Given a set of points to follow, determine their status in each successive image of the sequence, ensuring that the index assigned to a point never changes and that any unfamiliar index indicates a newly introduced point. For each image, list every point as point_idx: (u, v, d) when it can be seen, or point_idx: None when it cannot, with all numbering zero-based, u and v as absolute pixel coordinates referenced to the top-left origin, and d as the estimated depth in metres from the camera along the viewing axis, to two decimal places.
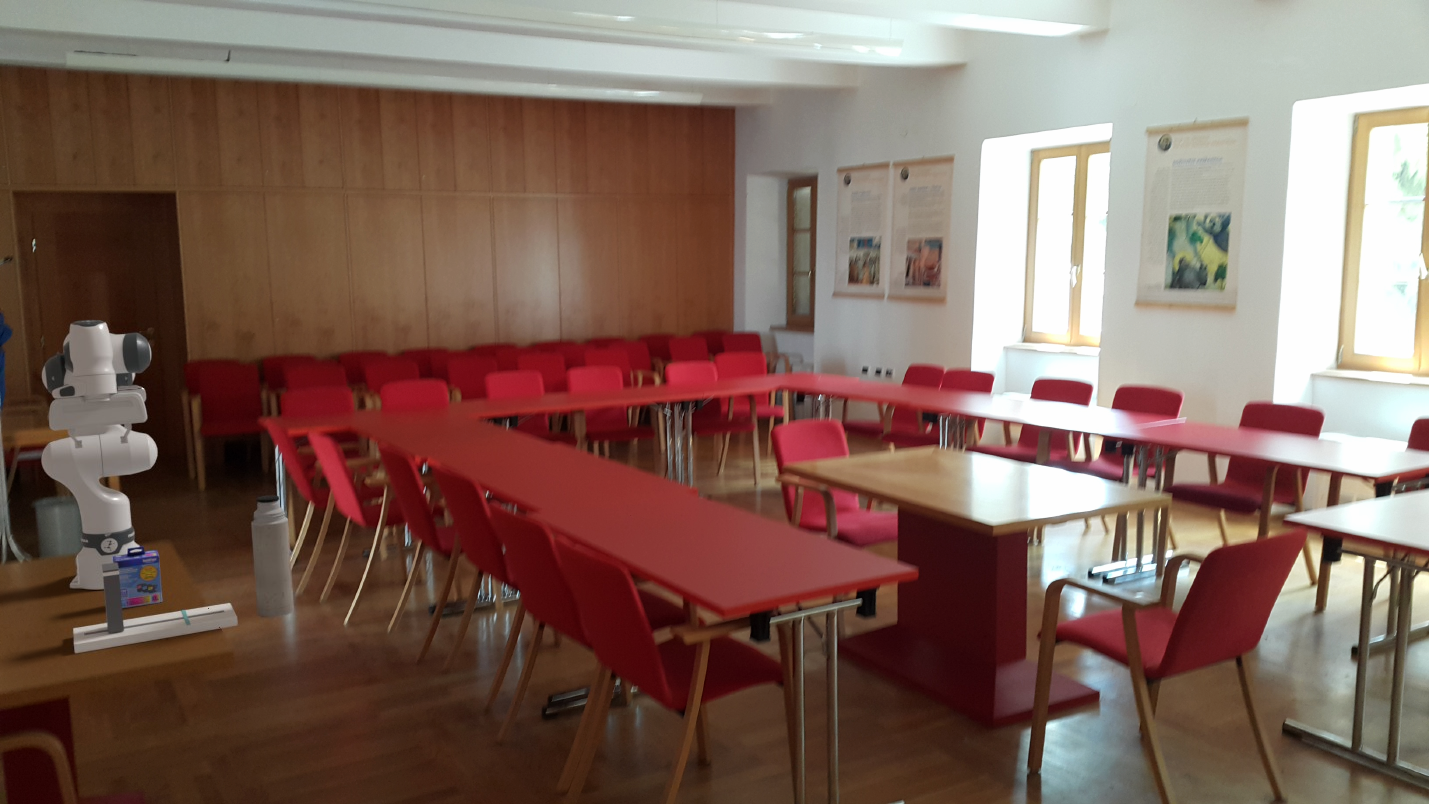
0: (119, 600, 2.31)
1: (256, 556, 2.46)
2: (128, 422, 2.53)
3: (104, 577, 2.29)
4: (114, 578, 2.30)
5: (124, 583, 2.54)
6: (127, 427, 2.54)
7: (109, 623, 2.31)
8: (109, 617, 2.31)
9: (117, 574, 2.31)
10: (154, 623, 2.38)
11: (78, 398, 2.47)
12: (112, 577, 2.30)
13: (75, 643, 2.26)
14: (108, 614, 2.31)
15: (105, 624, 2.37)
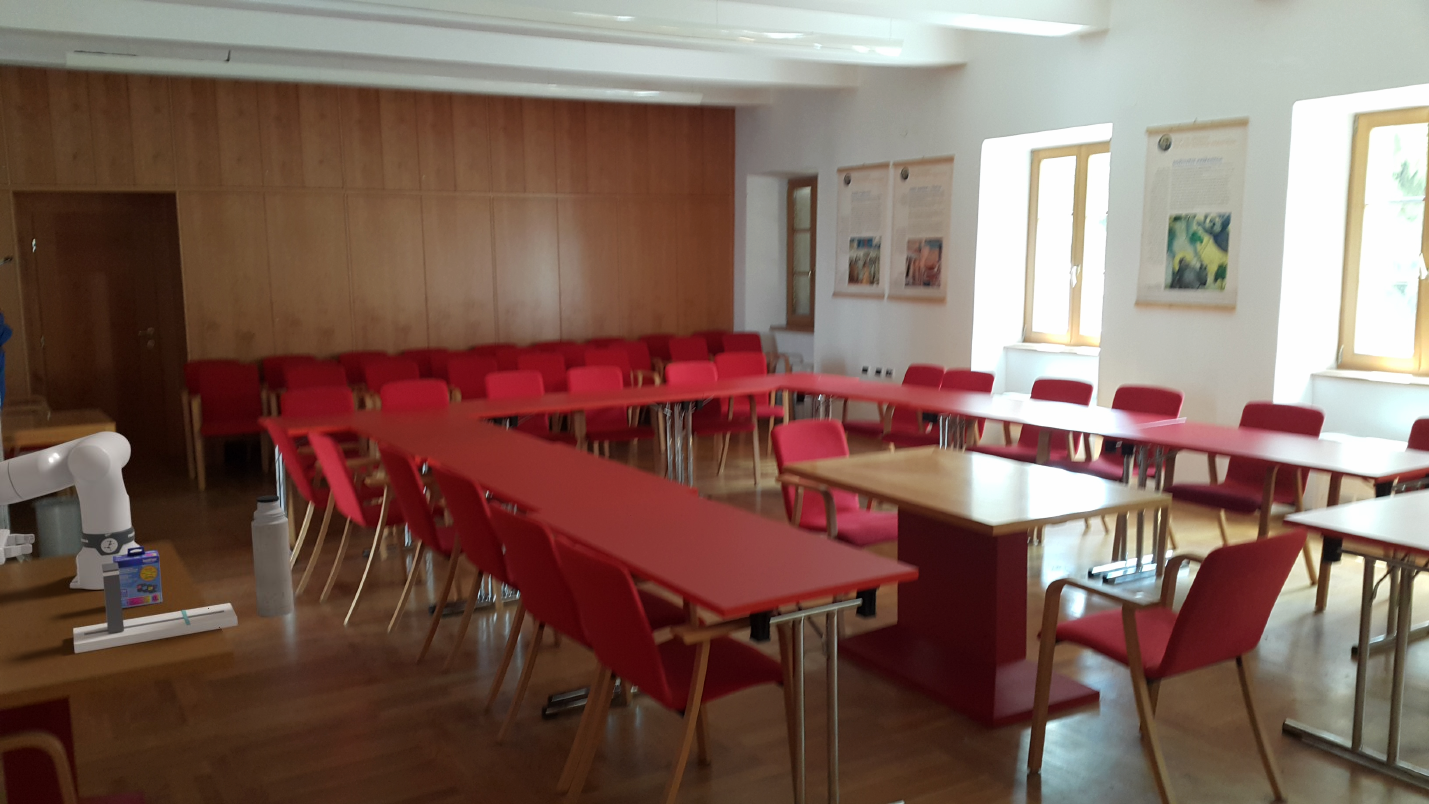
0: (119, 600, 2.31)
1: (256, 556, 2.46)
2: (6, 532, 2.27)
3: (104, 577, 2.29)
4: (114, 578, 2.30)
5: (124, 583, 2.54)
6: (13, 534, 2.28)
7: (109, 623, 2.31)
8: (109, 617, 2.31)
9: (117, 574, 2.31)
10: (154, 623, 2.38)
11: None
12: (112, 577, 2.30)
13: (75, 643, 2.26)
14: (108, 614, 2.31)
15: (105, 624, 2.37)
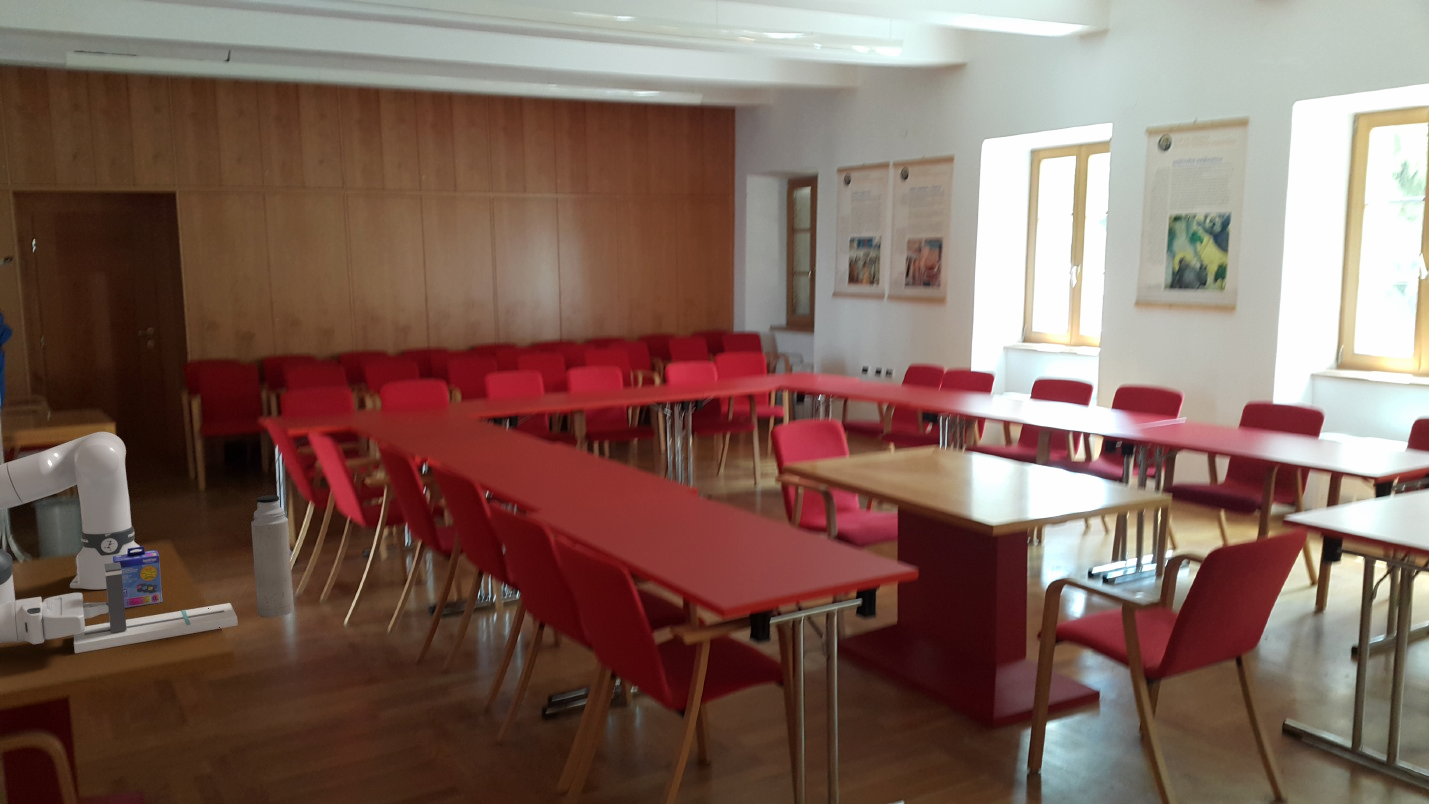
0: (121, 600, 2.32)
1: (256, 556, 2.46)
2: (80, 596, 2.34)
3: (107, 577, 2.30)
4: (116, 578, 2.31)
5: (124, 583, 2.54)
6: (87, 603, 2.31)
7: (112, 623, 2.31)
8: (112, 617, 2.31)
9: (120, 574, 2.31)
10: (154, 623, 2.38)
11: (44, 608, 2.22)
12: (115, 577, 2.30)
13: (75, 643, 2.26)
14: (111, 614, 2.31)
15: (105, 624, 2.37)
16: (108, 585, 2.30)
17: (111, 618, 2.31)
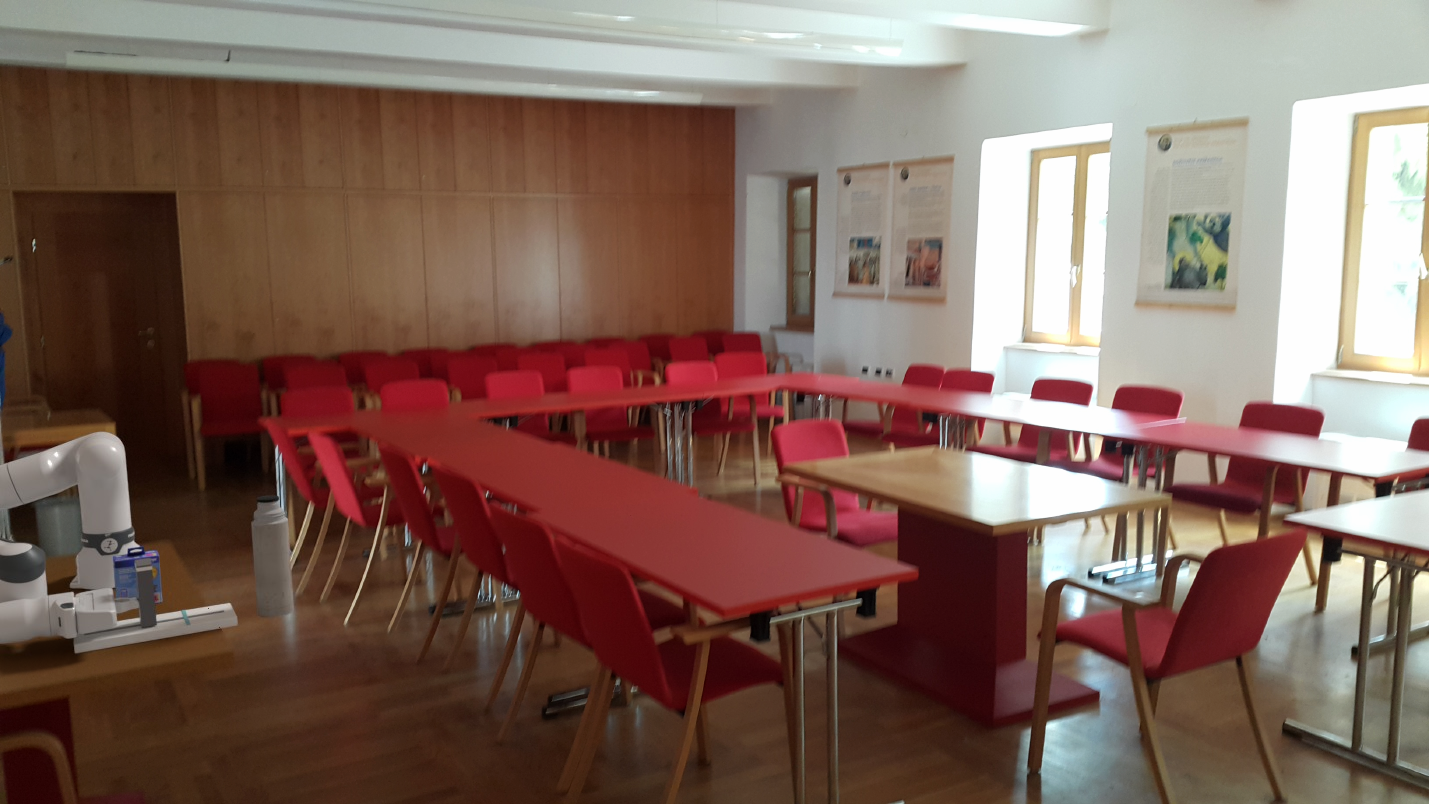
0: (152, 595, 2.35)
1: (256, 556, 2.46)
2: (111, 591, 2.37)
3: (138, 572, 2.33)
4: (147, 573, 2.34)
5: (124, 583, 2.54)
6: (118, 598, 2.34)
7: (142, 618, 2.34)
8: (142, 612, 2.34)
9: (150, 569, 2.34)
10: None
11: (77, 603, 2.25)
12: (146, 573, 2.34)
13: (75, 643, 2.26)
14: (141, 609, 2.34)
15: None
16: (139, 580, 2.33)
17: (142, 613, 2.34)
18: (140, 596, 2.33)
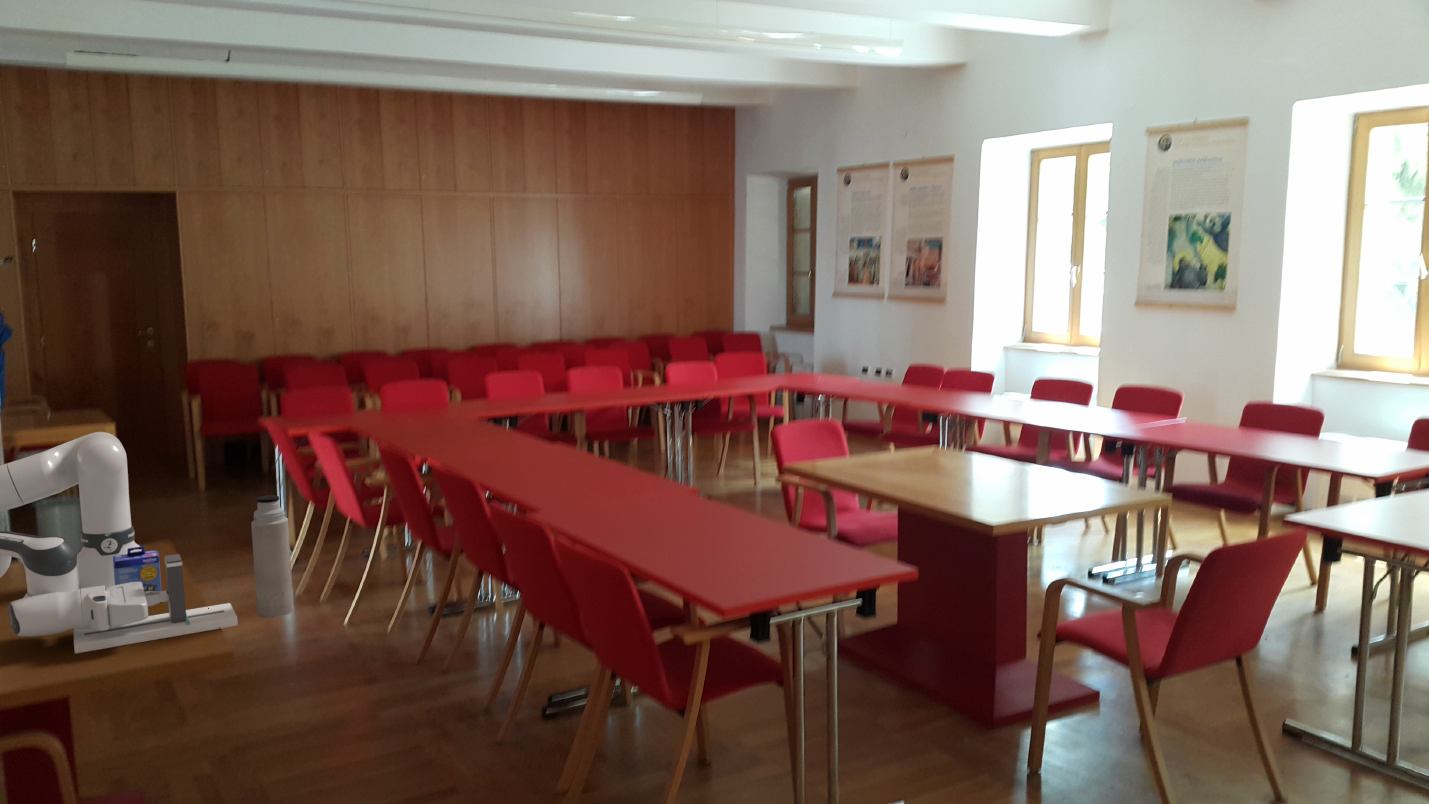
0: (181, 591, 2.38)
1: (256, 556, 2.46)
2: (141, 585, 2.41)
3: (168, 568, 2.36)
4: (177, 569, 2.37)
5: None
6: (148, 592, 2.38)
7: (172, 613, 2.37)
8: (172, 607, 2.37)
9: (180, 565, 2.37)
10: (154, 623, 2.38)
11: (108, 596, 2.29)
12: (176, 568, 2.37)
13: (75, 643, 2.26)
14: (171, 604, 2.37)
15: None
16: (169, 576, 2.36)
17: (172, 608, 2.37)
18: (170, 591, 2.36)
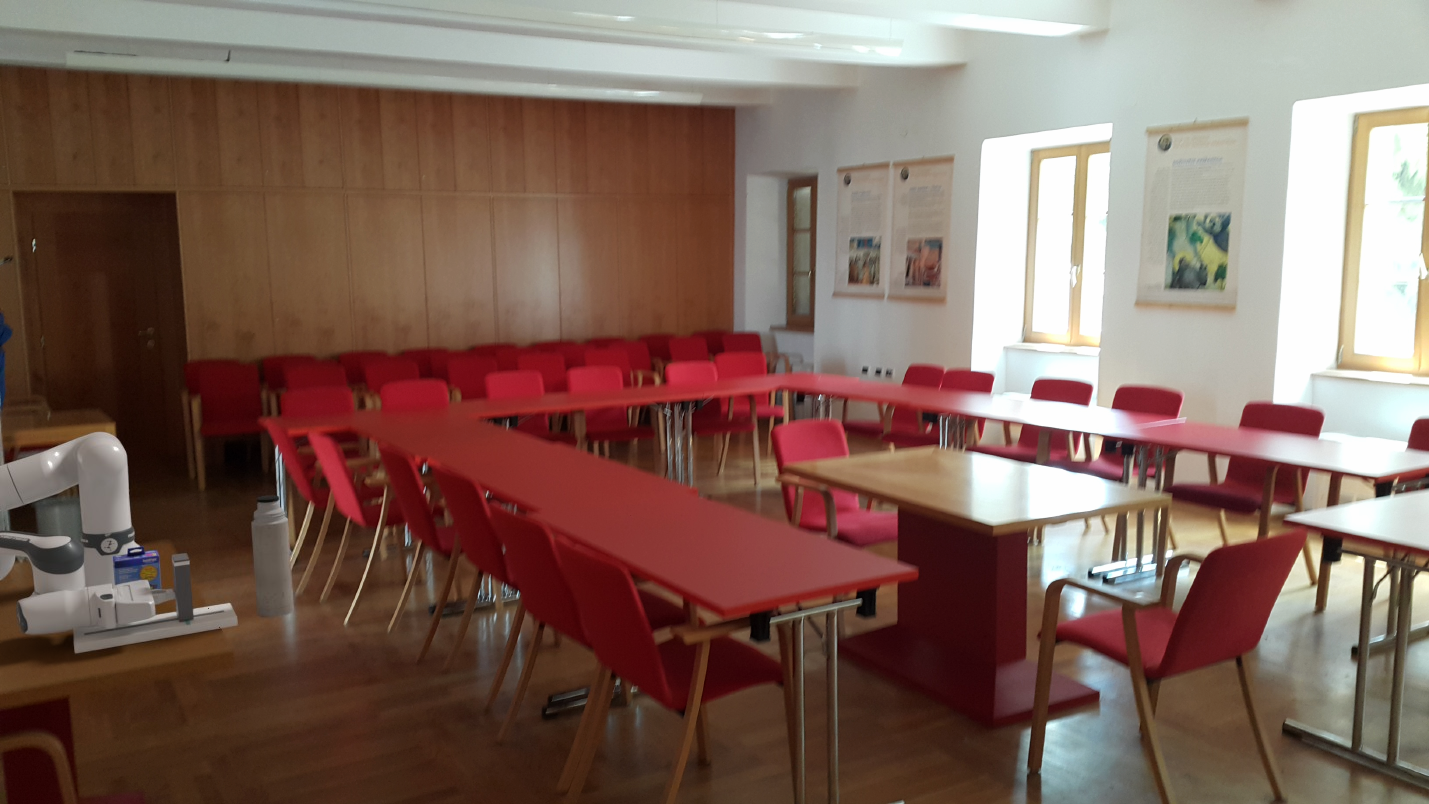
0: (189, 589, 2.38)
1: (256, 556, 2.46)
2: (147, 583, 2.42)
3: (175, 567, 2.37)
4: (184, 568, 2.38)
5: None
6: (155, 590, 2.39)
7: (180, 611, 2.38)
8: (180, 606, 2.38)
9: (187, 564, 2.38)
10: (154, 623, 2.38)
11: (116, 594, 2.30)
12: (183, 567, 2.37)
13: (75, 643, 2.26)
14: (179, 603, 2.38)
15: None
16: (176, 575, 2.37)
17: (179, 607, 2.38)
18: (178, 590, 2.37)
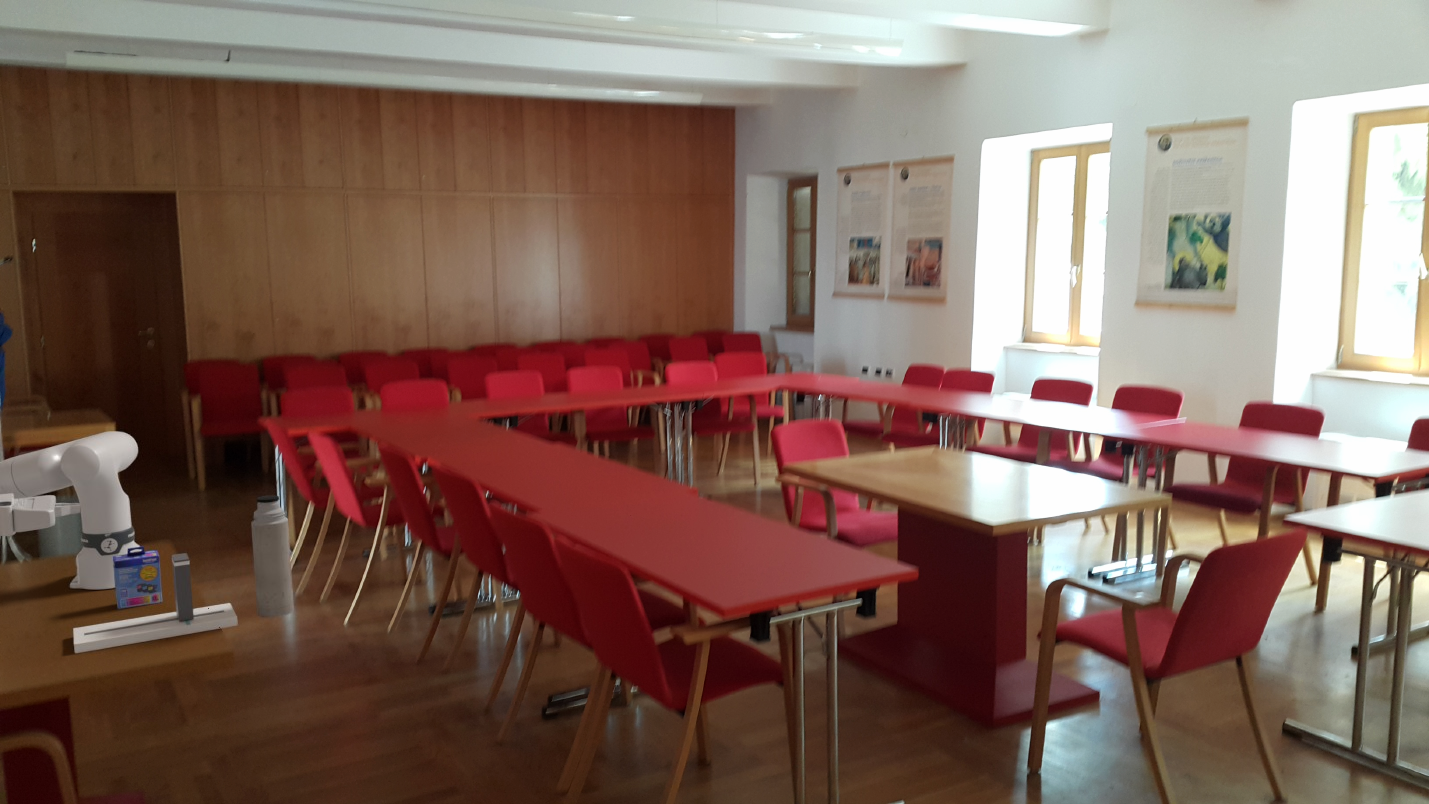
0: (189, 589, 2.38)
1: (256, 556, 2.46)
2: (53, 498, 2.37)
3: (175, 567, 2.37)
4: (184, 568, 2.38)
5: (124, 583, 2.54)
6: (59, 503, 2.34)
7: (180, 611, 2.38)
8: (180, 606, 2.38)
9: (187, 564, 2.38)
10: (154, 623, 2.38)
11: (15, 503, 2.25)
12: (183, 567, 2.37)
13: (75, 643, 2.26)
14: (179, 603, 2.38)
15: (105, 624, 2.37)
16: (176, 575, 2.37)
17: (179, 607, 2.38)
18: (178, 590, 2.37)
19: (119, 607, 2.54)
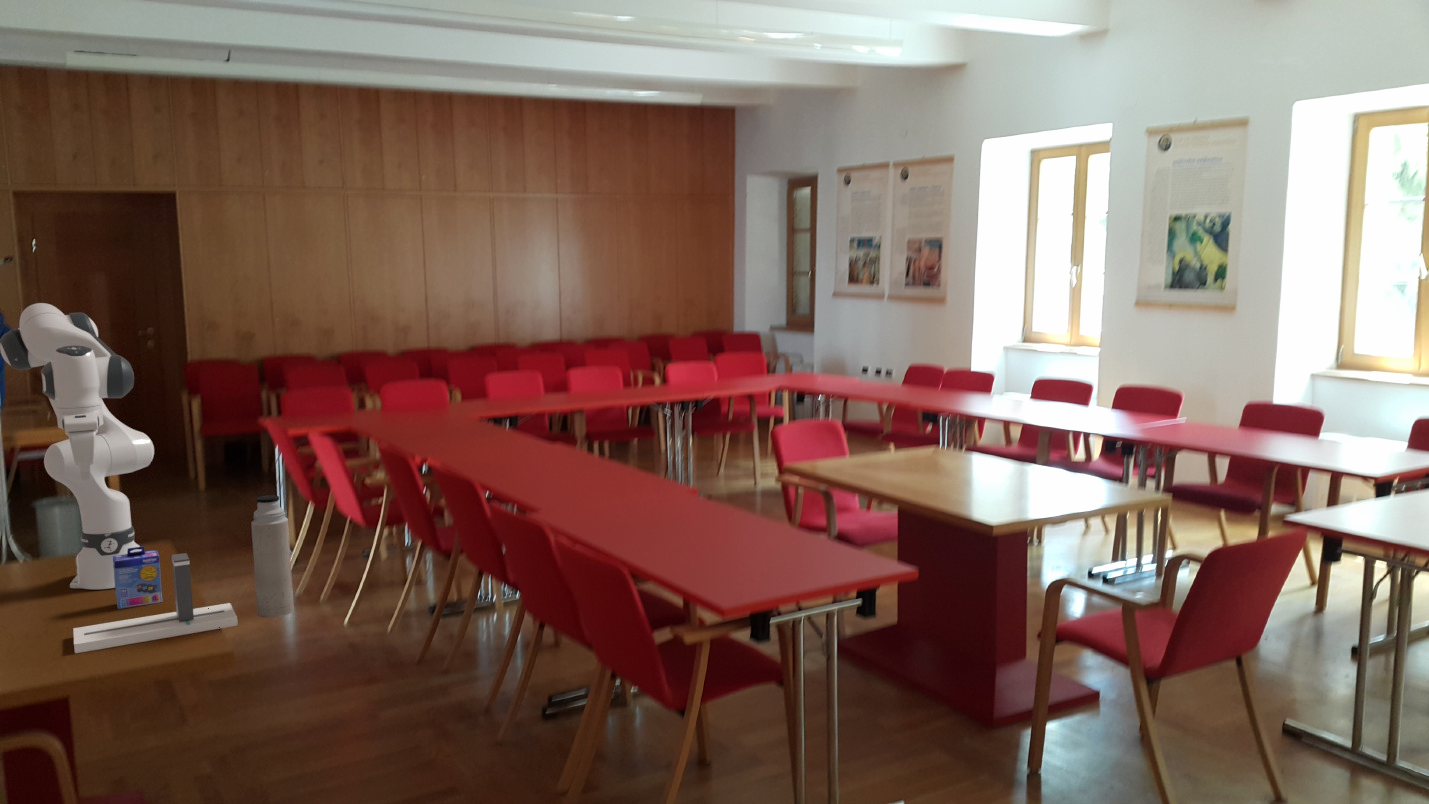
0: (189, 589, 2.38)
1: (256, 556, 2.46)
2: None
3: (175, 567, 2.37)
4: (184, 568, 2.38)
5: (124, 583, 2.54)
6: None
7: (180, 611, 2.38)
8: (180, 606, 2.38)
9: (187, 564, 2.38)
10: (154, 623, 2.38)
11: None
12: (183, 567, 2.37)
13: (75, 643, 2.26)
14: (179, 603, 2.38)
15: (105, 624, 2.37)
16: (176, 575, 2.37)
17: (179, 607, 2.38)
18: (178, 590, 2.37)
19: (119, 607, 2.54)
